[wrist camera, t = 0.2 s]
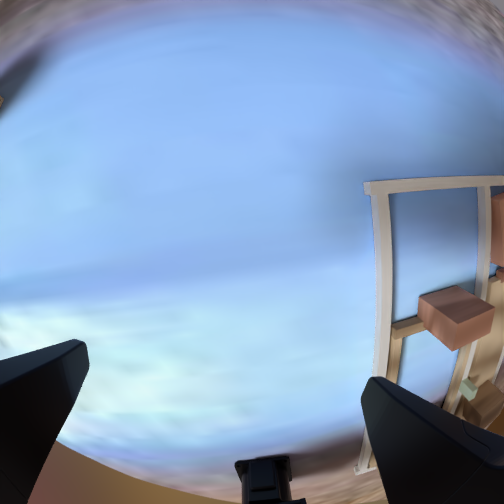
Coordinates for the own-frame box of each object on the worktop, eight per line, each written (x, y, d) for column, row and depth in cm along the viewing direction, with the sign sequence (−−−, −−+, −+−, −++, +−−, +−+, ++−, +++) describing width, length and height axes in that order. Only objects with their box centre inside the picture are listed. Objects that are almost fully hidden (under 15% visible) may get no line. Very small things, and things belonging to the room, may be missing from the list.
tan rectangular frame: (435, 435, 27) (452, 460, 22) (368, 462, 27) (380, 493, 22) (475, 279, 22) (513, 298, 16) (390, 304, 22) (427, 335, 16)
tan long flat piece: (473, 412, 27) (476, 417, 26) (445, 428, 27) (449, 433, 26) (512, 262, 22) (519, 265, 21) (485, 272, 22) (493, 276, 21)
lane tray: (476, 414, 28) (487, 427, 24) (353, 469, 28) (360, 488, 24) (518, 175, 20) (541, 177, 16) (363, 182, 20) (386, 181, 16)
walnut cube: (484, 398, 25) (499, 414, 21) (462, 415, 25) (477, 433, 21) (487, 379, 24) (505, 395, 20) (464, 397, 24) (482, 416, 20)
